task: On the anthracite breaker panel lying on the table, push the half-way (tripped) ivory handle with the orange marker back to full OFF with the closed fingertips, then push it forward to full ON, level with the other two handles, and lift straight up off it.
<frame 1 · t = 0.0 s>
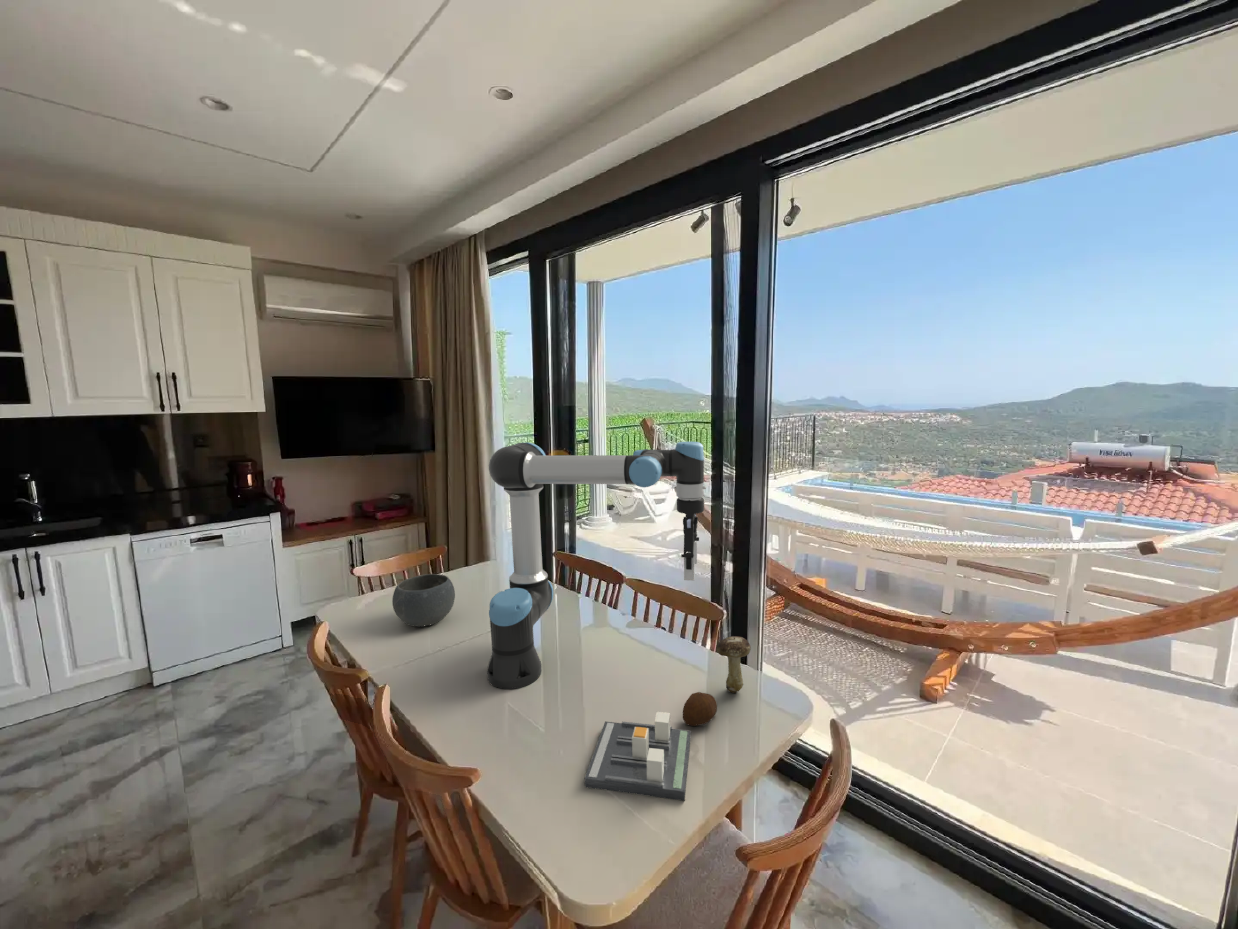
hand: (690, 571, 143), 28 cm above the table, fingers open, 13 cm apart
breaker a: (655, 765, 101), point 4 cm above the table, slide at 8.0 cm
tripped breaker: (640, 742, 108), point 5 cm above the table, slide at 4.0 cm
panel: (641, 761, 108), on the table
mushroom: (734, 692, 132), on the table
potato: (701, 721, 122), on the table
breaker c: (662, 726, 113), point 4 cm above the table, slide at 8.0 cm
bowl: (426, 622, 179), on the table
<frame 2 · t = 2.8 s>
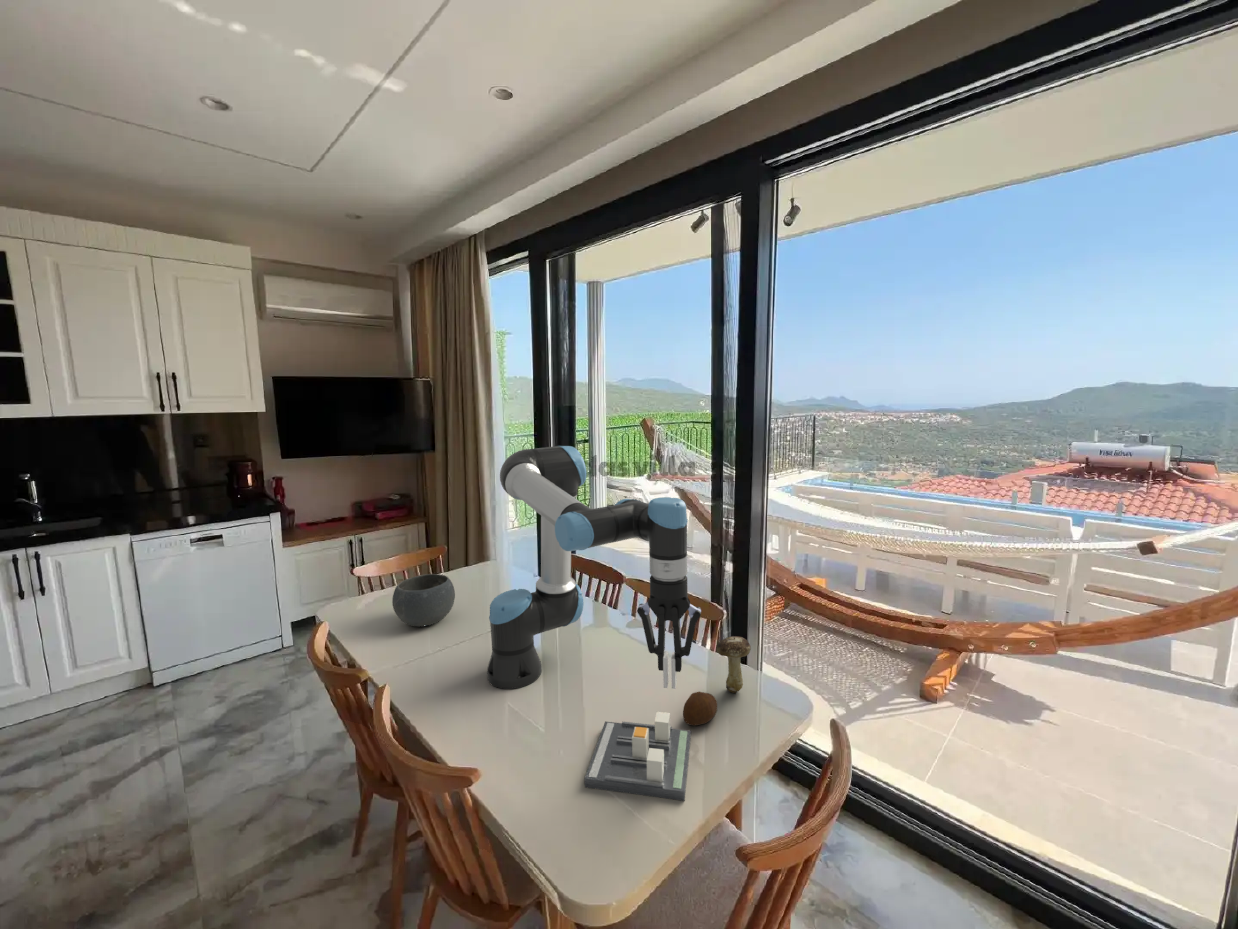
hand: (670, 684, 105), 18 cm above the table, fingers closed
nothing on the table moved.
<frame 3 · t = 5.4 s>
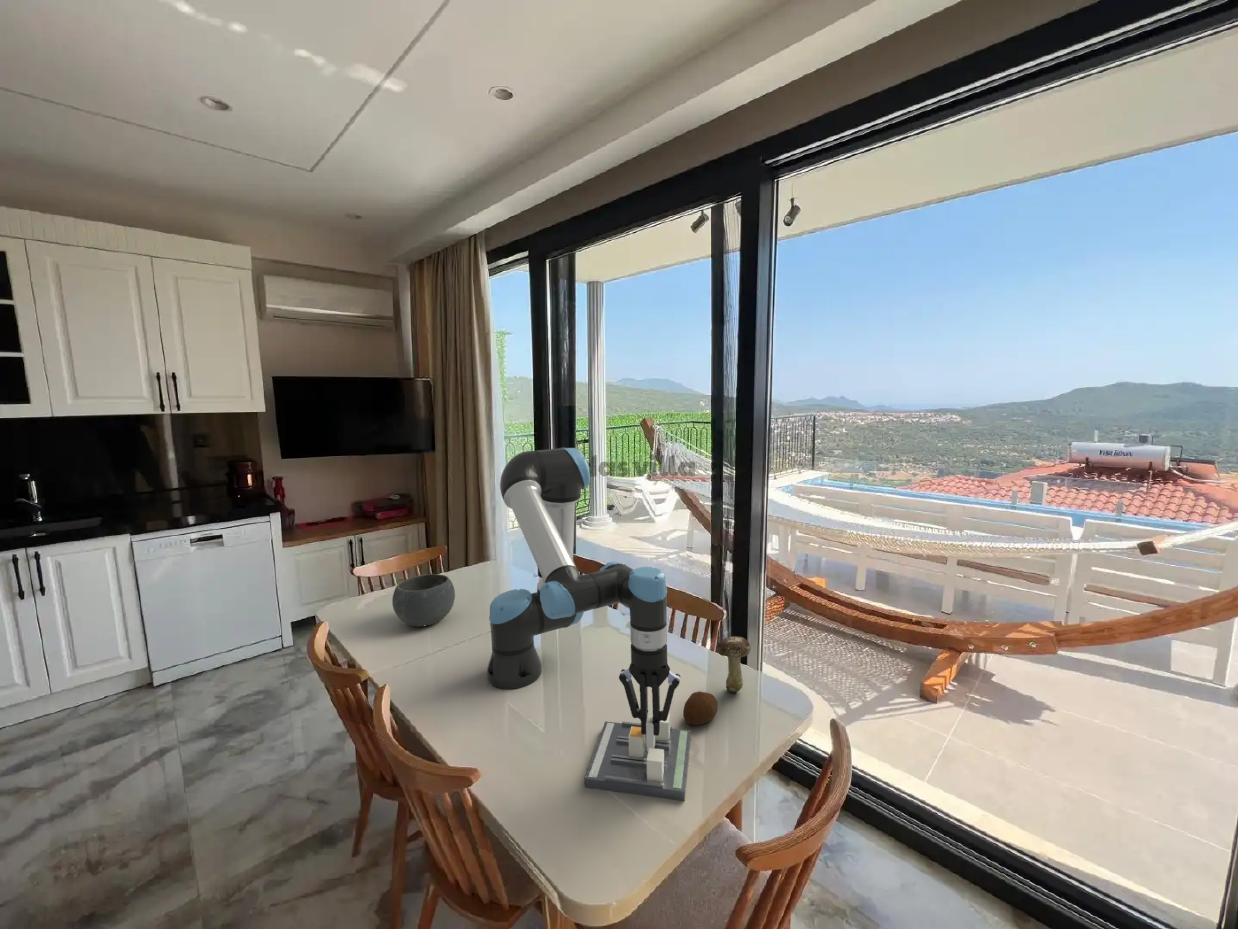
hand: (650, 747, 108), 4 cm above the table, fingers closed
tripped breaker: (637, 741, 108), point 5 cm above the table, slide at 3.2 cm, touching gripper
everything else where it was.
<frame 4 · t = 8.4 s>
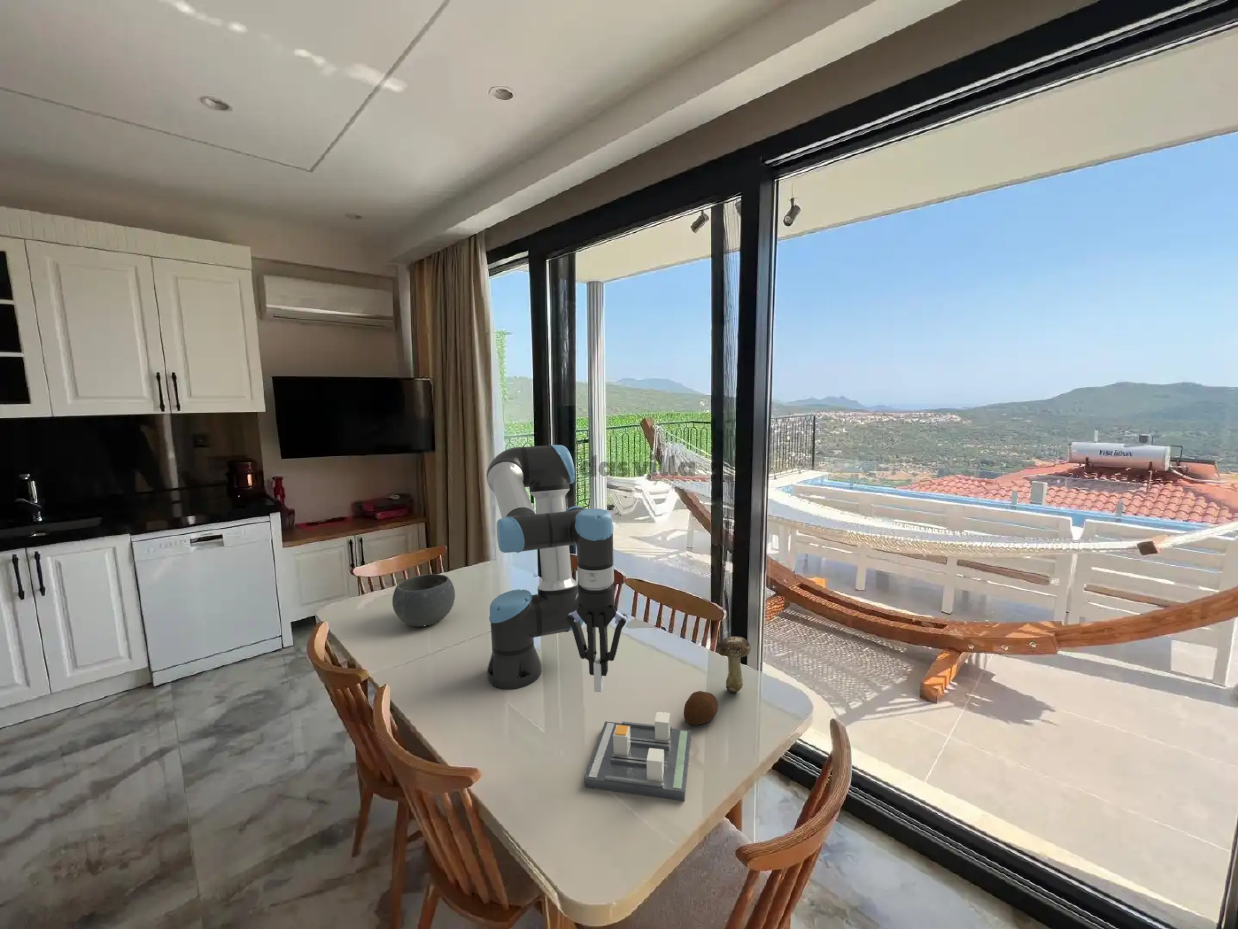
hand: (599, 688, 109), 16 cm above the table, fingers closed
tripped breaker: (621, 739, 109), point 5 cm above the table, slide at -0.1 cm
everything else where it was.
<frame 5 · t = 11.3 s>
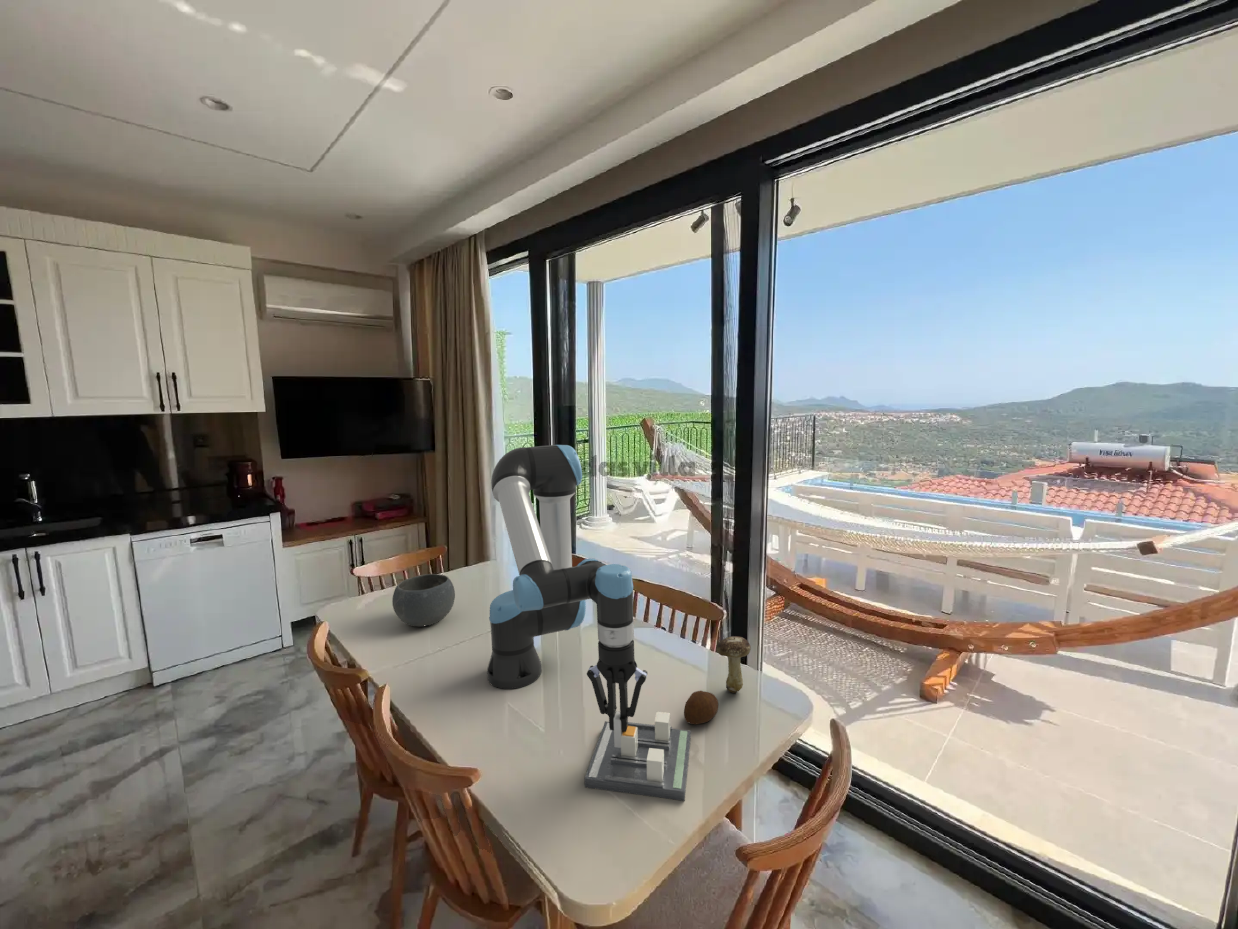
hand: (619, 743, 109), 4 cm above the table, fingers closed
tripped breaker: (629, 740, 108), point 5 cm above the table, slide at 1.6 cm, touching gripper
everything else where it was.
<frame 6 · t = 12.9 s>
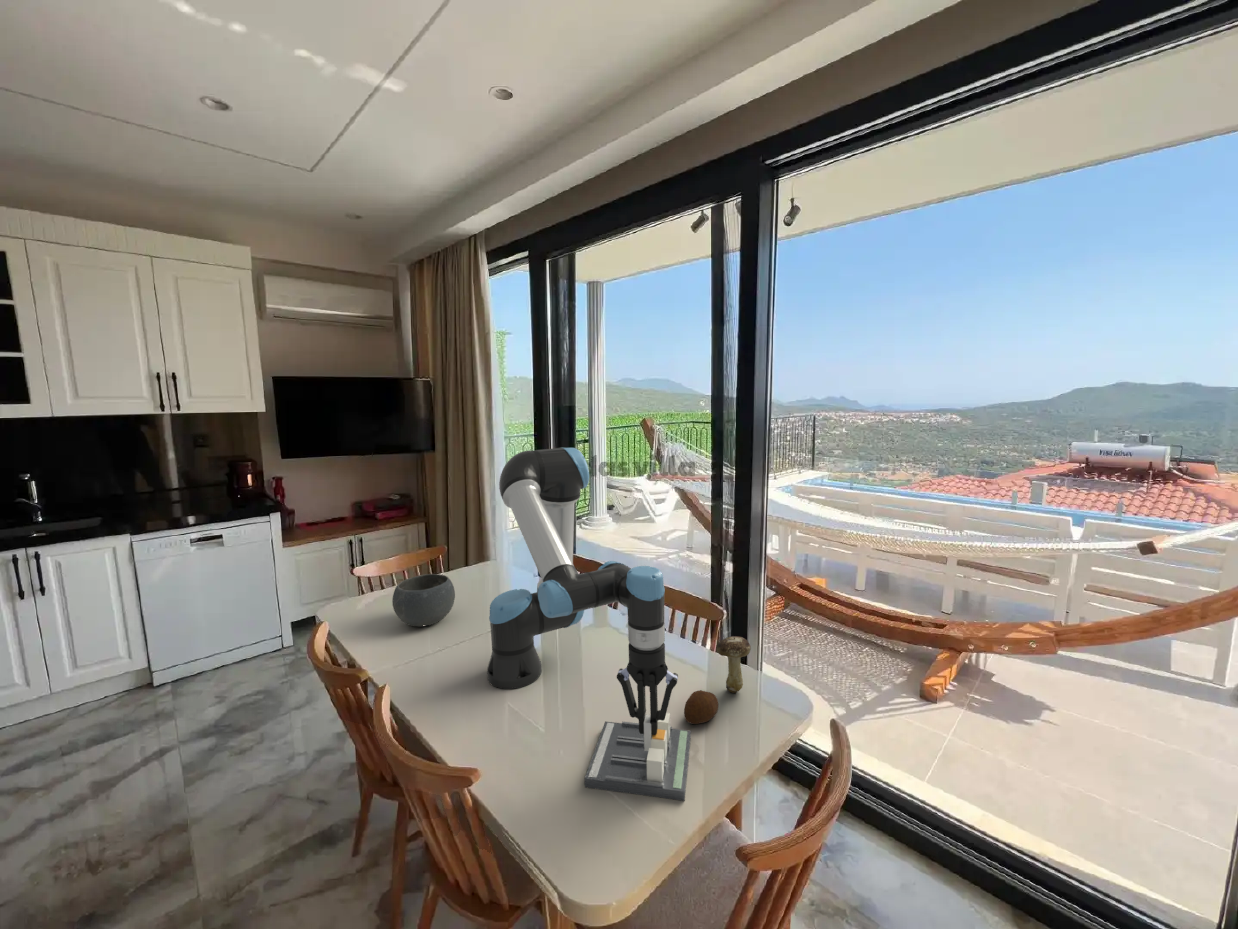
hand: (648, 746, 107), 4 cm above the table, fingers closed
tripped breaker: (659, 744, 107), point 5 cm above the table, slide at 8.0 cm, touching gripper
everything else where it was.
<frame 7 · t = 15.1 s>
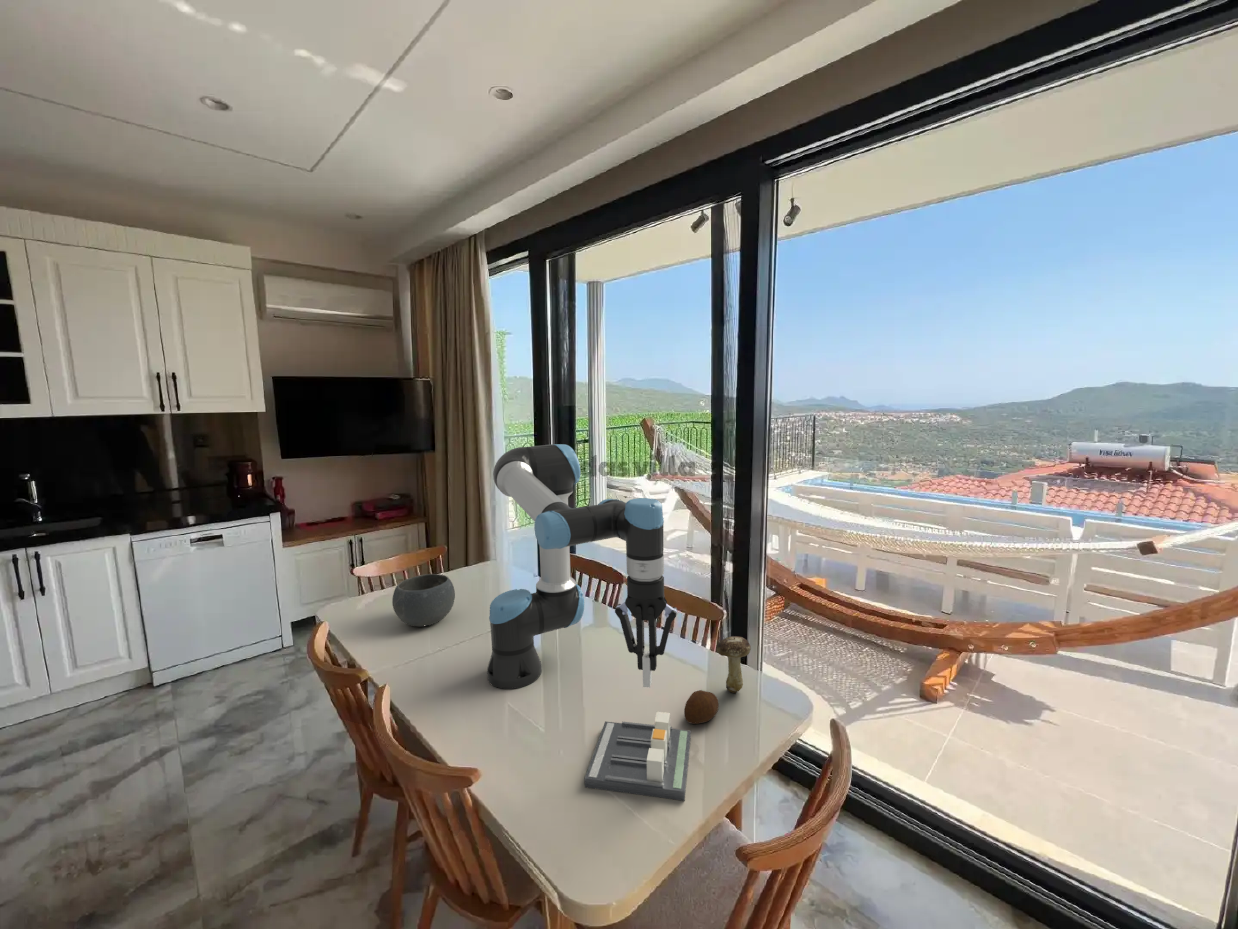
hand: (647, 683, 106), 18 cm above the table, fingers closed
tripped breaker: (659, 744, 107), point 5 cm above the table, slide at 8.0 cm
everything else where it was.
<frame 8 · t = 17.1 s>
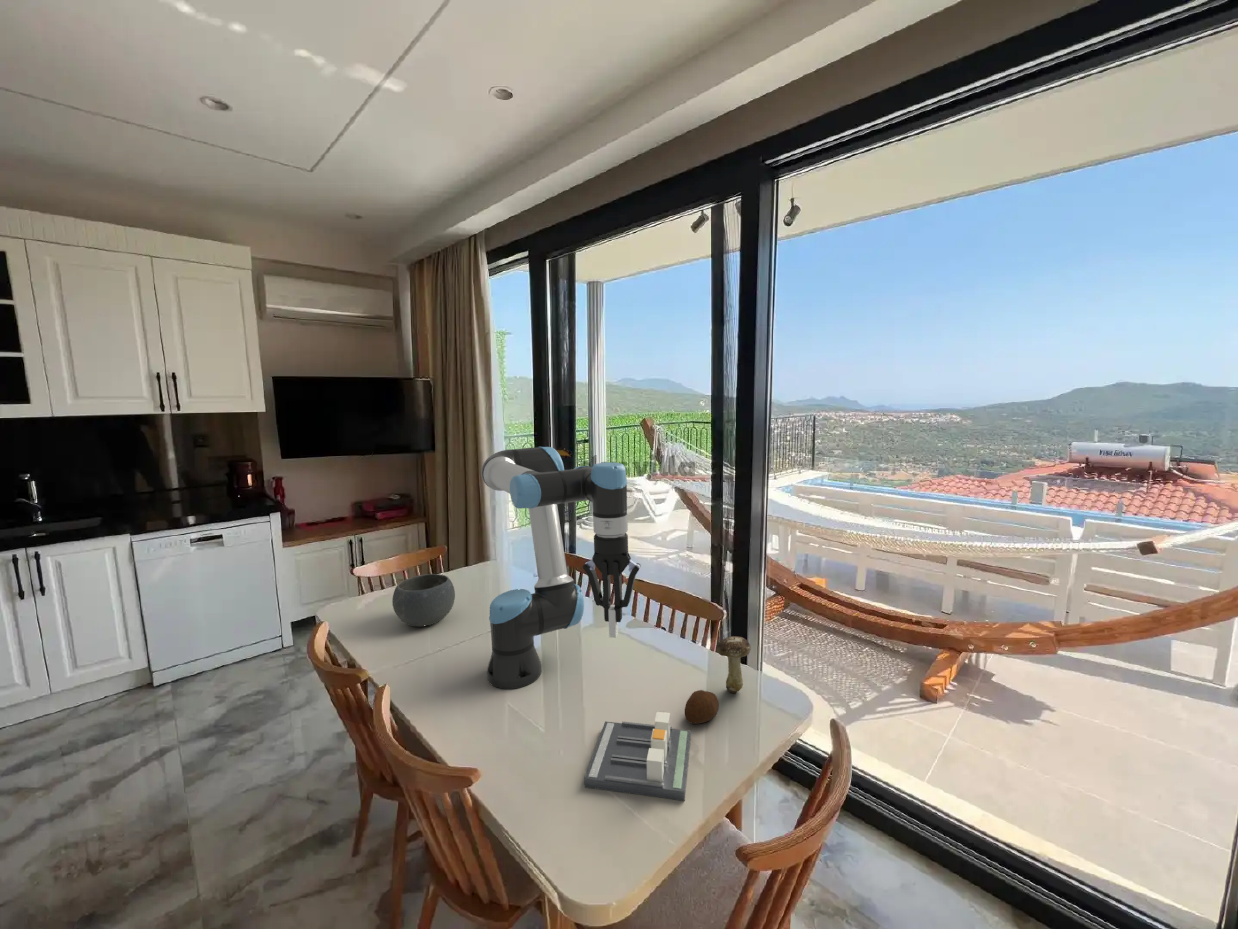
hand: (613, 634, 114), 24 cm above the table, fingers closed
at the end: tripped breaker slide at 8.0 cm; breaker a slide at 8.0 cm; breaker c slide at 8.0 cm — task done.
